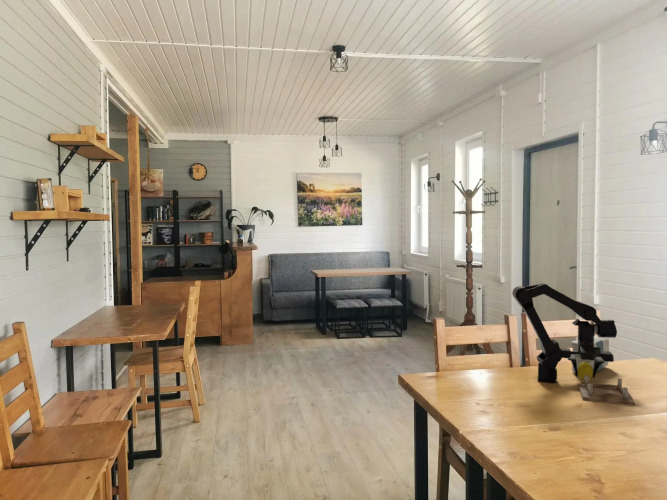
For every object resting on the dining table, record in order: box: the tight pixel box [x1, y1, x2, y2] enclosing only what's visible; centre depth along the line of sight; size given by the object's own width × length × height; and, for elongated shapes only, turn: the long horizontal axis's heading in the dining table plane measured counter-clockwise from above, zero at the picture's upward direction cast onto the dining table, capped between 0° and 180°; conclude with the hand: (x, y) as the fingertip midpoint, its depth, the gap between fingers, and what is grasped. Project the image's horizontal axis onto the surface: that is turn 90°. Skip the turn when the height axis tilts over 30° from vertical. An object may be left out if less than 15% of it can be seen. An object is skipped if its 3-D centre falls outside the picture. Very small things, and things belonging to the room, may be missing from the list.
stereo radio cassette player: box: [570, 335, 610, 374], centre depth 214 cm, size 21×8×20 cm, turn 132°
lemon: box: [577, 361, 593, 382], centre depth 198 cm, size 6×6×8 cm
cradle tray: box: [577, 375, 636, 406], centre depth 183 cm, size 16×16×5 cm
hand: (585, 376), depth 199 cm, fingers closed on lemon, 5 cm apart
